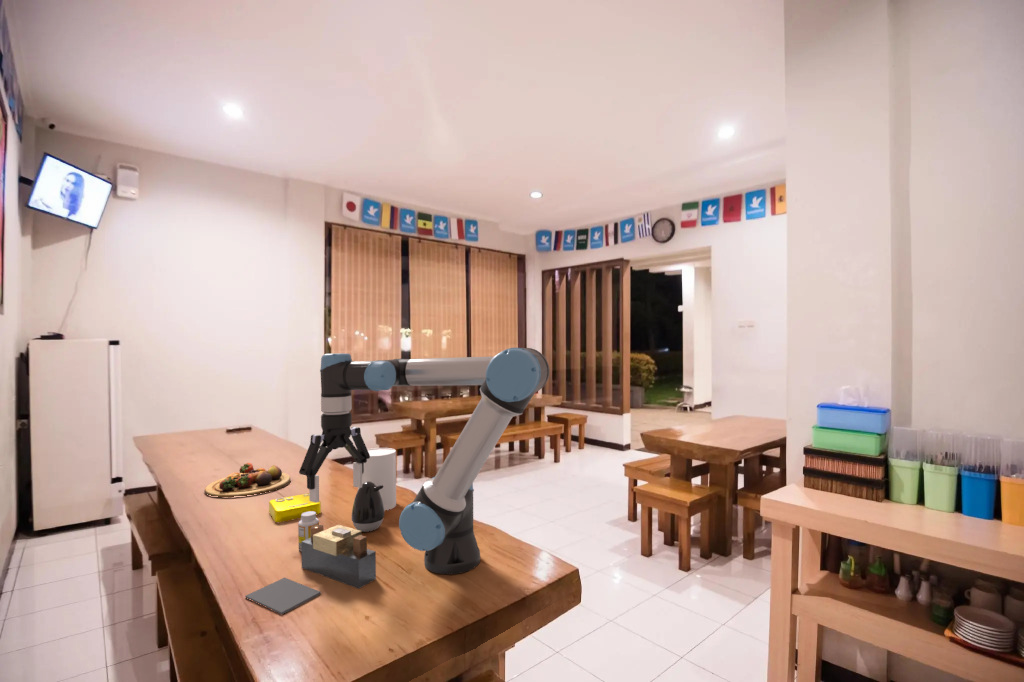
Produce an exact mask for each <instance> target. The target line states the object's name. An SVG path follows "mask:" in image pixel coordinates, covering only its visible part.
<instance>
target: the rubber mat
mask: <svg viewBox="0 0 1024 682" xmlns="http://www.w3.org/2000/svg"><path fill="white" fill-rule="evenodd" d="M320 595H322V593H321V591H320V590H317V589H315V588H313V587H310V586H308V585H305V584H302V583H300V582H297V581H294V580H292V579H289V578H288V577H283V578H280V579H279V580H276V581H274V582H272V583H270V584H267V585H266V586H264V587H261V588H259V589H257V590H255V591H252V592H250V593H248V594H246V595H245V597H246V598H248V599H251V600H253V601H255V602H257V603H259V604H261V605H264V606H266V607H267V608H270V609H272V610H273V611H272V610H271V611H272V612H274V611H275V612H274V613H276V612H278V613H279V614H278V613H277V614H278V615H280V614H281V616H283V615H285V614H286V612H287V613H288V612H290V611H292V610H294V609H296V608H298V607H300V606H301V605H303V604H305V603H307V602H309V601H311V600H312V599H315V598H316V597H318V596H320ZM245 597H244V598H245ZM246 598H245V599H246ZM248 599H247V600H248ZM257 603H256V604H257ZM259 604H258V605H259ZM261 605H260V606H261ZM267 608H266V609H267ZM270 609H269V610H270ZM284 613H285V614H284ZM282 614H283V615H282Z"/></svg>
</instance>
